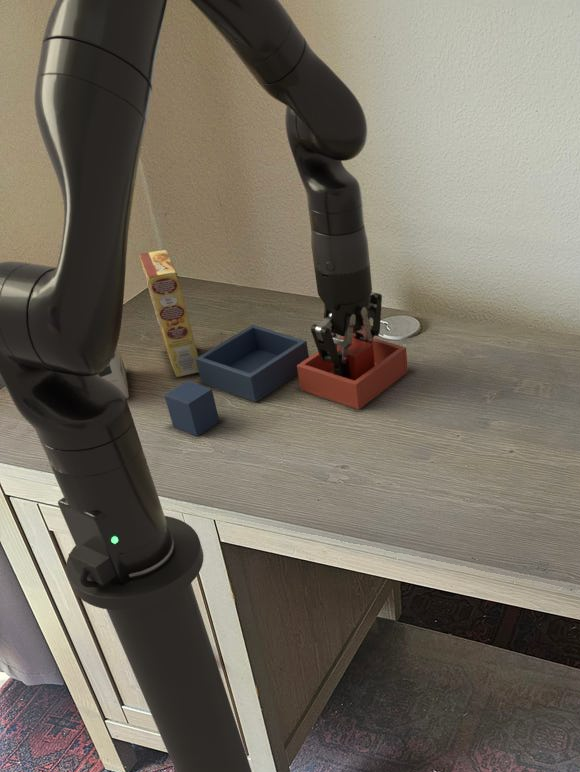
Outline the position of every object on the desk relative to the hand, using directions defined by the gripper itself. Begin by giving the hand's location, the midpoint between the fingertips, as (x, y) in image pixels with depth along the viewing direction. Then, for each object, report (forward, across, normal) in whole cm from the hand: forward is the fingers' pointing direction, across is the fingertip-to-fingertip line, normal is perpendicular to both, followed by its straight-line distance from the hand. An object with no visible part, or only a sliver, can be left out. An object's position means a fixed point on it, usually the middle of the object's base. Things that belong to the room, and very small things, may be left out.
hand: (354, 375), depth 128 cm
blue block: (+1, +21, -12) cm, 24 cm away
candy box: (+1, +9, -26) cm, 27 cm away
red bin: (+1, 0, 0) cm, 1 cm away
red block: (0, 0, 0) cm, 0 cm away
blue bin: (+1, +6, -14) cm, 15 cm away
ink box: (+1, +20, -30) cm, 36 cm away
